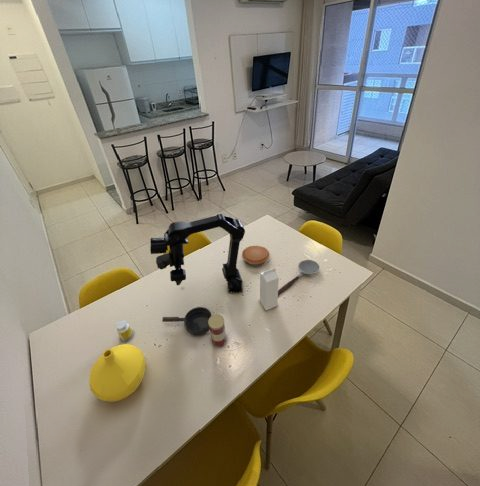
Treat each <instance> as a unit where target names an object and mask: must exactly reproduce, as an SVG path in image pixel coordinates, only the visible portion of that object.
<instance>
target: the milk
mask: <svg viewBox="0 0 480 486" xmlns="http://www.w3.org/2000/svg"><path fill="white" fill-rule="evenodd" d="M276 270H277V269H276V267H274V268H271V269H268V270H265V271H263V272H260V273H259V302H260V304H261V305H262V307H263V308H264V310H265V311H269V310H271V309H273V308H276V307H278V297H279V295H278V290H279V283H280V282H279V281H280V277H279V275H278V273H277V271H276Z"/></svg>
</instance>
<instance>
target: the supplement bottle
mask: <svg viewBox="0 0 480 486" xmlns="http://www.w3.org/2000/svg"><path fill="white" fill-rule="evenodd" d="M115 327H116V332H117V334H118V336H119V338H120V340H122V341H123V342H127V341H130V340H131V338H132V337H133V331H132V329H131V326H130V324H129V323H127V321H126V320H124V319H122V320H119V321H118V322H117V323H116V325H115Z"/></svg>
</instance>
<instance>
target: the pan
mask: <svg viewBox="0 0 480 486" xmlns="http://www.w3.org/2000/svg"><path fill="white" fill-rule="evenodd" d="M211 316H213V314H212V312H211V311H210V309H209V308H207V307H203V306H197V307H193V308H191V309H190V310H189V311H188V312H187V313H186V314H185V316H184V317H183V318H184V321H183V325H184V328H185V330H186V332H187V333H188V334H189V335H190V336H193V337H198V336H199V337H201V336H203V335H205V334H207V333H208V332H210V328H209V324H208V320H209V318H210V317H211Z"/></svg>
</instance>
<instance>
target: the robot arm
mask: <svg viewBox="0 0 480 486" xmlns="http://www.w3.org/2000/svg"><path fill="white" fill-rule="evenodd" d="M216 228H221V229H223V230H224V231H225V232H227V233H228V234H229V245H228V254H227V260H226V263H222V268H221V271H222V274H223V279H225V282H227V289H228V293H231V294H232V293H243V278H242V276H241V272H240V270H239V268H237V264H238V257H239V249H240V243H241V241H243V239H244V236H245V234H246V229H245V228H244V225H243V223H242V221H241V220H240V219H238V218H234V217H232V216H230V215H229V216H228V215H224V214H223V213H217V214H216V215H213V216H209V217H204V218H200V219H196V220H193V221H174V222H171V223H170V224H169V225H168V228H167V230H166V231H165V232H164V234H163V237H150V247H149V248H150V249H149V250H150V251H149V252H150V255H157V254H158V256H156V257H155V264H156V267H157V269H159V270H161V271H162V270H164V269H167V267H168V266H169V268H172V267H174V269H171V270H170V271H169V277H170V282H175V284H176V286H180V285H181V283H183V281H186V280H187V274H186V273H187V272H186V270H185V269H184V268H183V267H182V266H185V252H184V251H185V250H184V249H185V248H184V245H188V244H189V240H188V237H190V236H191V235H194V234H197V233H201V232H205V231H209V230H213V229H216ZM167 251H168V252H167ZM159 254H160V255H159Z"/></svg>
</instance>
